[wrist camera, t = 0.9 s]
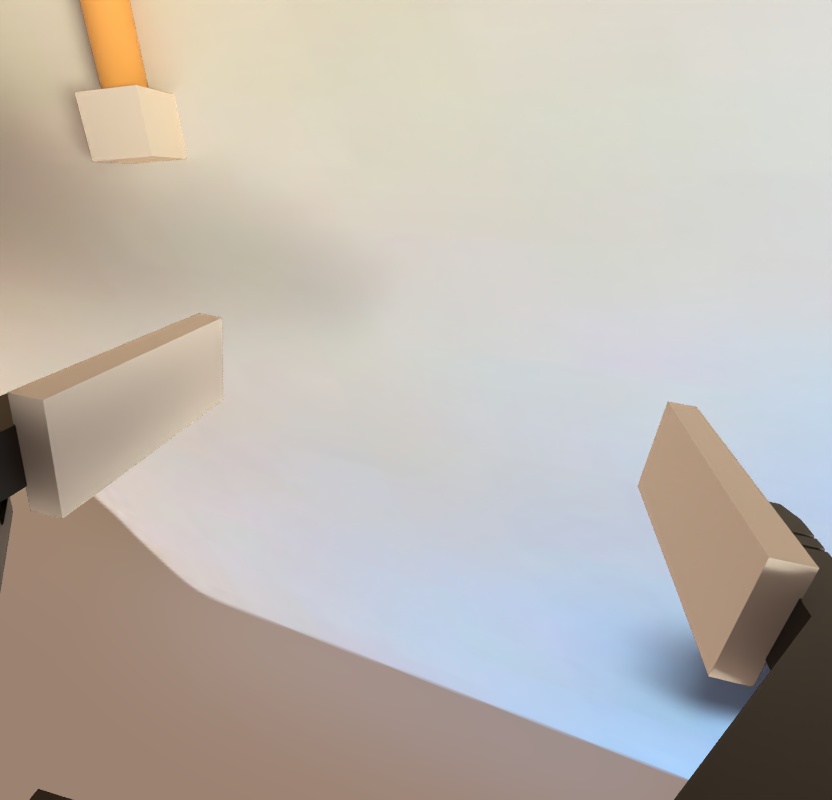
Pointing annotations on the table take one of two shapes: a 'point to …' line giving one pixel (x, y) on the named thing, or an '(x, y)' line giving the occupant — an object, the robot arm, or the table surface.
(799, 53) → the table surface
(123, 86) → the orange rod with blocks
